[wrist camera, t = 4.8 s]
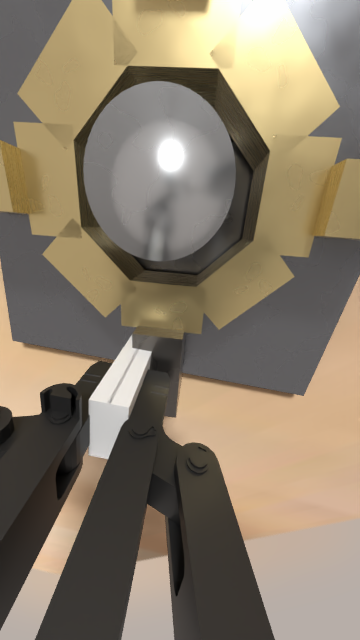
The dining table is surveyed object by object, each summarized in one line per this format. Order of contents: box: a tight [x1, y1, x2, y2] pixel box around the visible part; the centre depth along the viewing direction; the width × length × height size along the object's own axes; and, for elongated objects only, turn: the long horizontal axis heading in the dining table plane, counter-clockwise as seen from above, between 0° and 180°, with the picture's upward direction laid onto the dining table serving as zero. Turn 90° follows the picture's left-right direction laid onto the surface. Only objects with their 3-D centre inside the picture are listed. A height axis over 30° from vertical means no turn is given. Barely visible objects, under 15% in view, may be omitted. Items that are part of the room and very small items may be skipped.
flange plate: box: [0, 0, 360, 396], centre depth 10 cm, size 22×22×6 cm
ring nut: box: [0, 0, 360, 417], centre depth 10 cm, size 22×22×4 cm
